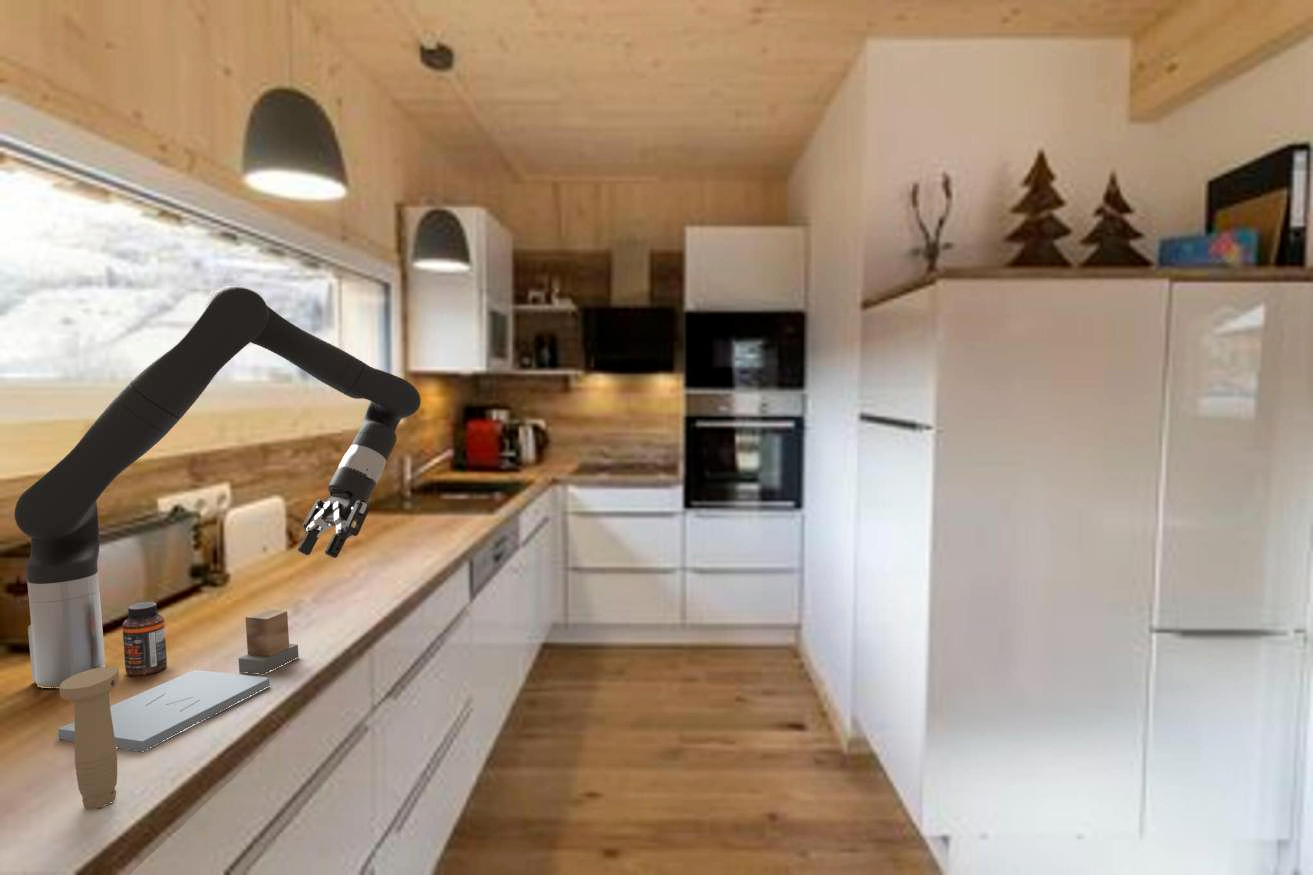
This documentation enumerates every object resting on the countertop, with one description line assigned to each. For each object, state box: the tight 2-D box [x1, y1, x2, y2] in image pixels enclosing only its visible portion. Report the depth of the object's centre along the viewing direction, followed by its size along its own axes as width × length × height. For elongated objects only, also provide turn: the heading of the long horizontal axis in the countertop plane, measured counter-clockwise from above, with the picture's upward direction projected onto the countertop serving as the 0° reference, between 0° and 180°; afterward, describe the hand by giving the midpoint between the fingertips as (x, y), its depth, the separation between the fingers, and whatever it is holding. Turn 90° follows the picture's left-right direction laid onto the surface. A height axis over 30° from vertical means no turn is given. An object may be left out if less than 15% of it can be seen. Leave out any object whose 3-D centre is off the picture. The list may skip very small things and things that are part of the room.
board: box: [57, 669, 271, 752], centre depth 115 cm, size 15×22×2 cm
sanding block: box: [238, 609, 300, 675], centre depth 133 cm, size 5×8×9 cm, turn 163°
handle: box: [58, 666, 120, 811], centre depth 89 cm, size 5×6×15 cm
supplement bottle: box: [122, 601, 168, 677], centre depth 131 cm, size 6×6×11 cm
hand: (316, 554), depth 138 cm, fingers open, 8 cm apart
